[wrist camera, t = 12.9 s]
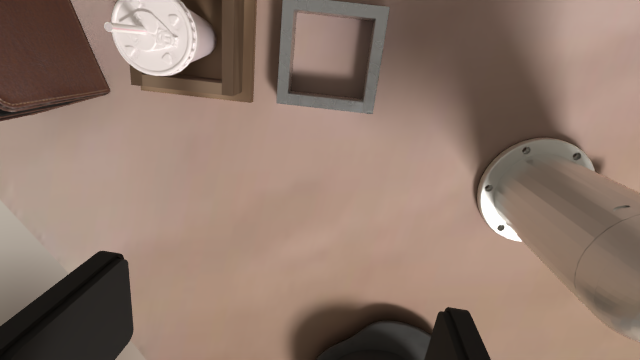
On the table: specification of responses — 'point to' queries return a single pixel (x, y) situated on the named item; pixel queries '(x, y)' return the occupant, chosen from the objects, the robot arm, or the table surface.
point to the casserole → (382, 343)
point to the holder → (312, 3)
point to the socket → (215, 56)
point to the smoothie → (160, 35)
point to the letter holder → (44, 58)
